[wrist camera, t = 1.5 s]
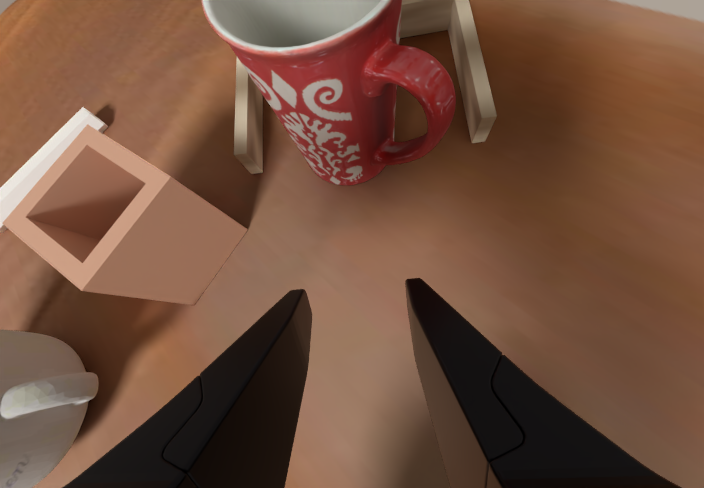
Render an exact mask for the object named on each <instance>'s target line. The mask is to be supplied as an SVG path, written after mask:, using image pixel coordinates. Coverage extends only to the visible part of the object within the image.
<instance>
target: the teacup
mask: <svg viewBox="0 0 704 488" xmlns="http://www.w3.org/2000/svg"><path fill="white" fill-rule="evenodd" d="M98 386H99V383H98V377H97V375H96V374H95V373H92V372H86V371H85V368H84V365H83V363H82V361H81V359H80V357H79V356H78V354H77V353H76V352H75V351H74V350H73V349H72V348H71V347H70V346H69V345H67V344H66V343H65V342H63V341H61V340H59V339H57V338H54V337H51V336H48V335H44V334H39V333H32V332H24V331H13V330H0V488H32V487H33V486H35V485H36V484H37V483H39V482H40V481H41V480H42V479H43V478H45V477H46V476H47V475H48V474H49V473H50V472H51V471H52V470H53V469H54V468H55V467H56V466H57V465H58V463H59V462H60V461H61V460H62V458H63V457H64V456H65V454H66V453H67V452H68V450H69V449H70V447H71V445H72V444H73V442H74V440H75V438H76V436H77V434H78V432H79V430H80V427H81V425H82V422H83V420H84V417H85V414H86V411H87V407H88V401H89V400H91V399H93V398H94V397H95V396H96V394H97V392H98Z"/></svg>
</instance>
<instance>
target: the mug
mask: <svg viewBox="0 0 704 488" xmlns="http://www.w3.org/2000/svg"><path fill="white" fill-rule="evenodd" d="M401 5H402V0H202V6H203V10H204V13H205V16H206V18H207V21H208V22H209V24H210V25H211V27H212V28H213V30H214V31H215V32H216V33H217V34H218V35H219V36H220V37H221V38H222V39H223V40H224V41H225V42H227V43H228V44H229V45H230V47H231V48H232V50H233V51H234V52H235V54H236V56H237V57H238V59H239V60H240V62H241V63H242V65H243V66H244V68H245V69H246V71H247V72H248V74H249V76H250V77H251V79H252V80H253V81H254V83H255V84H256V86H257V87H258V89H259V90H260V92H261V93H262V95H263V96H264V98H265V99H266V100H267V102H268V103H269V105H270V106H271V108H272V109H273V111H274V112H275V114H276V115H277V117H278V118H279V120H280V121H281V123H282V124H283V126H284V128H285V129H286V131H287V132H288V133H289V135H290V136H291V138H292V139H293V141H294V142H295V144H296V145H297V147H298V148H299V150H300V152H301V153H302V155H303V156H304V158H305V159H306V161H307V163H308V164H309V166H310V167H311V169H312V170H313V171H314V172H315V173H316V174H317V175H318V176H319V177H321V178H322V179H324V180H326V181H328V182H330V183H333V184H338V185H355V184H359V183H363V182H366V181H368V180H369V179H371V178H373V177H375V176H376V175H377V174H378V173H380V172H381V171H382V170H383V169H384V167H385V166H386V165H395V164H402V163H407V162H410V161H413V160H416V159H418V158H421V157H423V156H424V155H426V154H427V153H429V152H430V151H431V150H432V149H433V148H434V147H435V146H436V145H437V144H438V143H439V141H440V140H441V138H442V137H443V136H444V134H445V133H446V131H447V130H448V128H449V126H450V124H451V122H452V119H453V116H454V112H455V105H456V95H455V89H454V85H453V82H452V79H451V77H450V76H449V74H448V72H447V71H446V69H445V68H444V67H443V66H442V64H441V63H440V62H439V61H438V60H437V59H436V58H435V57H433V56H432V55H430V54H429V53H427V52H425V51H423V50H420V49H418V48H416V47H410V46H403V45H399V42H400V26H401ZM397 85H399V86H401V87H403V88H404V89H406V90H407V91H409V92H410V93H411V94H412V95H413V96H414V97H415V98H416V99H417V100H418V101H419V102H420V104H421V105H422V107H423V109H424V112H425V114H426V117H427V121H428V132H427V133H426V134H425V135H423V136H420V137H418V138H416V139H412V140H409V141H405V142H394V125H395V110H396V93H397Z"/></svg>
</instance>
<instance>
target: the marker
mask: <svg viewBox="0 0 704 488" xmlns="http://www.w3.org/2000/svg"><path fill="white" fill-rule="evenodd" d="M87 124H88V125H90V126H91V127H93V128H94V129H96V130H97V131H99V132H101V133H103V132H104V131H105V130H106V129H107V128H108V127H109V126H107V125H106V124H105V123H104V122H103V121H102V120H100V119H99V118H98V117H96V116H95V115H94V114H92V113H91V112H90V111H88V110H87V109H85V108H84V107H82V108H81V109H80V110H79V111H78V112H77V113H76V114H75V115H74V116H73V117H72V118H71V119H70V120H69V121H68V122H67V123H66V124H65V125H64V126H63V127H62V128H61V129H60V130H59V131H58V132H57V133H56V134H55V135H54V136H53V137H52V138H51V139H50V140H49V141H48V142H47V143H46V144H45V145H44V146H43V147H42V148H41V149H40V150H39V151H38V152H37V153H36V154H35V155H33V156H32V157H31V158H30V159H29V160H28V161H27V162H26V163H25V164H24V165H23V166H22V167H21V168H20V169H19V170H18V171H17V172H16V173H15V174H14V175H13V176H12V177H11V178H10V179H9V180H8V181H7V182H6V183H5V184H4V185H3V186H2V187H1V188H0V233H2V232H4V231H5V230H6V229H7V227H6V226H5V225H3V224H2V223H3V222H4V220H5V219H6V218H7V217H8V216H9V215H10V213H11V212H12V211H13V210H14V209H15V208H16V206H17V205H18V204H19V203H20V202H21V201H22V200H23V198H24V197H25V196H26V195H27V194H28V193H29V191H30V190H31V189H32V188H33V187H34V186H35V184H36V183H37V182H38V181H39V180H40V179H41V178H42V176H43V175H44V174H45V173H46V172H47V171H48V169H49V168H50V167H51V166H52V165H53V164H54V162H55V161H56V160H57V159H58V158H59V157H60V155H61V154H62V153H63V152H64V151H65V150H66V149H67V147H68V146H69V145H70V144H71V143H72V142H73V140H74V139H75V138H76V137H77V136H78V135H79V133H80V132H81V131H82V130H83V129H84V128H85V127H86V125H87Z"/></svg>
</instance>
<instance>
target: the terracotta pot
mask: <svg viewBox="0 0 704 488" xmlns="http://www.w3.org/2000/svg"><path fill="white" fill-rule="evenodd" d="M2 224H3V225H5V226H6V227H7V228H8V229H9V230H10V231H12V232H13V233H14V234H15V235H16V236H18V237H19V238H20V239H21V240H22V241H23V242H25V243H26V244H27V245H28V246H29V247H30V248H32V249H33V250H34V251H35V252H36V253H38V254H39V255H40V256H41V257H42V258H43V259H45V260H46V261H47V262H48V263H49V264H50V265H52V266H53V267H54V268H55V269H56V270H58V271H59V272H60V273H61V274H62V275H63V276H65V277H66V278H67V279H68V280H69V281H70V282H72V283H73V284H74V285H75V286H76V287H78V288H79V289H80V290H81V291H86V292H94V293H102V294H110V295H118V296H125V297H133V298H141V299H149V300H157V301H165V302H172V303H180V304H188V305H195V304H196V302H197V301H198V299H199V298H200V297H201V295H202V294H203V292H204V291H205V289H206V288H207V287H208V285H209V284H210V282H211V281H212V280H213V278H214V277H215V275H216V274H217V273H218V271H219V270H220V268H221V267H222V266H223V264H224V263H225V261H226V260H227V259H228V257H229V256H230V254H231V253H232V251H233V250H234V249H235V247H236V246H237V244H238V243H239V242H240V240H241V239H242V237H243V236H244V235H245V233H246V232H247V230H248V229H246V228H245V227H243V226H242V225H240V224H239V223H238V222H236V221H235V220H233V219H232V218H230V217H229V216H227V215H226V214H224V213H223V212H222V211H220V210H219V209H217V208H216V207H214V206H213V205H211V204H210V203H208V202H207V201H206V200H204V199H203V198H201V197H200V196H198V195H197V194H195V193H194V192H192V191H191V190H190V189H188V188H187V187H185V186H184V185H182V184H181V183H179V182H178V181H176V180H175V179H173V178H172V177H171V176H169V175H167V174H166V173H164V172H163V171H161V170H159V169H158V168H156V167H155V166H153V165H151V164H150V163H148V162H147V161H145V160H144V159H142V158H140V157H139V156H137V155H136V154H134V153H132V152H131V151H129V150H128V149H126V148H124V147H123V146H121V145H120V144H118V143H117V142H115V141H113V140H112V139H110V138H109V137H107V136H105V135H104V134H102V133H101V132H99V131H97V130H96V129H94V128H93V127H91V126H90V125H88V124H87V125H86V127H85V128H84V129H83V130H82V131H81V132H80V133H79V135H78V136H77V137H76V138H75V139H74V140H73V142H72V143H71V144H70V145H69V146H68V147H67V149H66V150H65V151H64V152H63V153H62V154H61V155H60V157H59V158H58V159H57V160H56V161H55V162H54V164H53V165H52V166H51V167H50V168H49V169H48V171H47V172H46V173H45V174H44V175H43V176H42V178H41V179H40V180H39V181H38V182H37V183H36V184H35V186H34V187H33V188H32V189H31V190H30V191H29V193H28V194H27V195H26V196H25V197H24V198H23V200H22V201H21V202H20V203H19V204H18V205H17V206H16V208H15V209H14V210H13V211H12V212H11V213H10V215H9V216H8V217H7V218H6V219H5V220H4V222H3V223H2Z"/></svg>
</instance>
